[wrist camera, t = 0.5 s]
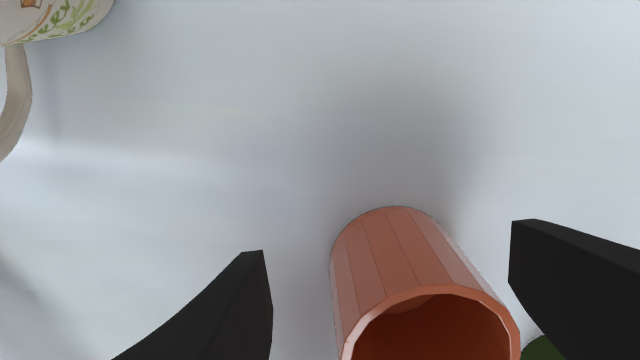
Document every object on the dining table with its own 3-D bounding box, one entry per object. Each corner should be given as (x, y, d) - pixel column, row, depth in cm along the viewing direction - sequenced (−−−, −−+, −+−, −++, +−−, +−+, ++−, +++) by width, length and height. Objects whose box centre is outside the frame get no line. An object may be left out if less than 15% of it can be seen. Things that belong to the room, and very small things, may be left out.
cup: (447, 310, 23) (509, 423, 16) (330, 316, 23) (340, 432, 16) (457, 203, 21) (535, 279, 14) (326, 208, 21) (337, 289, 14)
